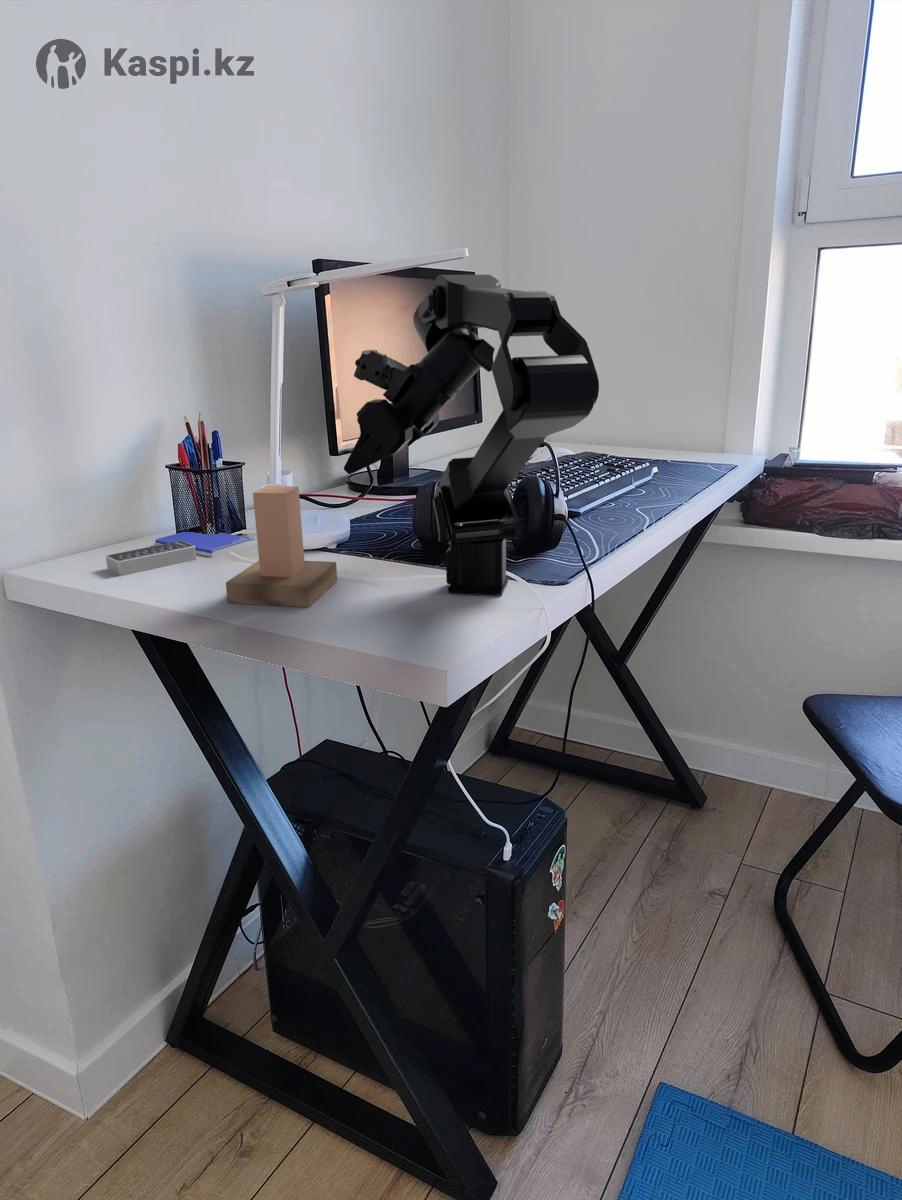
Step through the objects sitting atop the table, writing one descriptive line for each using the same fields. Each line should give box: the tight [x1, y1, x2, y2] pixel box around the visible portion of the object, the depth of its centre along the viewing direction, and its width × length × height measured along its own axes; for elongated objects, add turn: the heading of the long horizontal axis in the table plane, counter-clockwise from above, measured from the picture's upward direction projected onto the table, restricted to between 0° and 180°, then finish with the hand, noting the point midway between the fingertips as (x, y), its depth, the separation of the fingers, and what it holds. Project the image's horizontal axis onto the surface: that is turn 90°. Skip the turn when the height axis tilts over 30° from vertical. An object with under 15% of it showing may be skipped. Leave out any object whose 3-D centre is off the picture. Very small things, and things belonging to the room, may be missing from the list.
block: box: [252, 485, 305, 577], centre depth 101 cm, size 4×4×10 cm
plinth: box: [225, 560, 338, 608], centre depth 103 cm, size 10×10×2 cm
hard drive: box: [154, 531, 256, 558], centre depth 125 cm, size 2×8×12 cm
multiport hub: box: [105, 541, 198, 577], centre depth 116 cm, size 4×11×2 cm, turn 133°
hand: (358, 465), depth 108 cm, fingers open, 9 cm apart
